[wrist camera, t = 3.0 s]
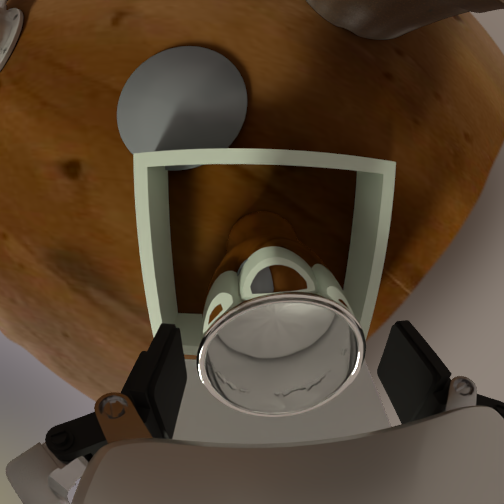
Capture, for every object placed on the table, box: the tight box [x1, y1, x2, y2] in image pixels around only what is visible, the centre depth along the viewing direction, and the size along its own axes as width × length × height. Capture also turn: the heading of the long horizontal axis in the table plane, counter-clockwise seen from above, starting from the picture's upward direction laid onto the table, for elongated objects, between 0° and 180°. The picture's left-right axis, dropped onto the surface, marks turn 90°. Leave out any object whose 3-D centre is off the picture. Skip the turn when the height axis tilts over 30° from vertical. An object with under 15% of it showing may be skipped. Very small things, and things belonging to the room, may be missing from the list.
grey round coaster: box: [117, 46, 247, 171], centre depth 19 cm, size 11×11×1 cm
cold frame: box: [134, 148, 396, 355], centre depth 21 cm, size 16×18×5 cm
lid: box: [172, 359, 391, 444], centre depth 14 cm, size 16×18×1 cm
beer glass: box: [196, 211, 366, 418], centre depth 17 cm, size 7×7×15 cm
